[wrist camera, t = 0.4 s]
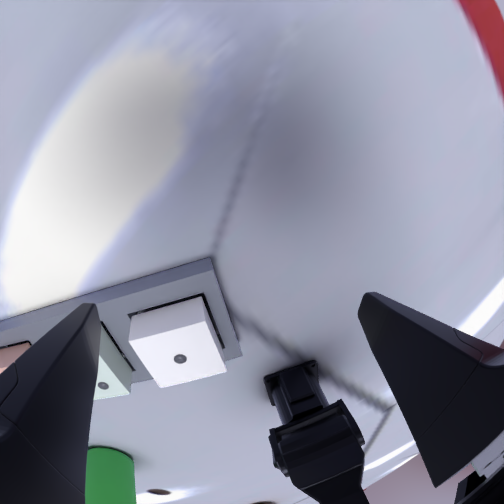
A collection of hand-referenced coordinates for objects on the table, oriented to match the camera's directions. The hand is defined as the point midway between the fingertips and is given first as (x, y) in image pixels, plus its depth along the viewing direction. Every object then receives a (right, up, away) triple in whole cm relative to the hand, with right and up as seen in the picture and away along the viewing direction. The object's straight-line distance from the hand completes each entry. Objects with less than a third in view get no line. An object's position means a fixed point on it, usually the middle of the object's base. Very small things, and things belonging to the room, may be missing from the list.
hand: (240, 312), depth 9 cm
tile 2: (-14, -7, +14) cm, 21 cm away
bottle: (-23, -32, +27) cm, 48 cm away
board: (-15, -7, +16) cm, 23 cm away
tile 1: (-6, -5, +15) cm, 17 cm away
